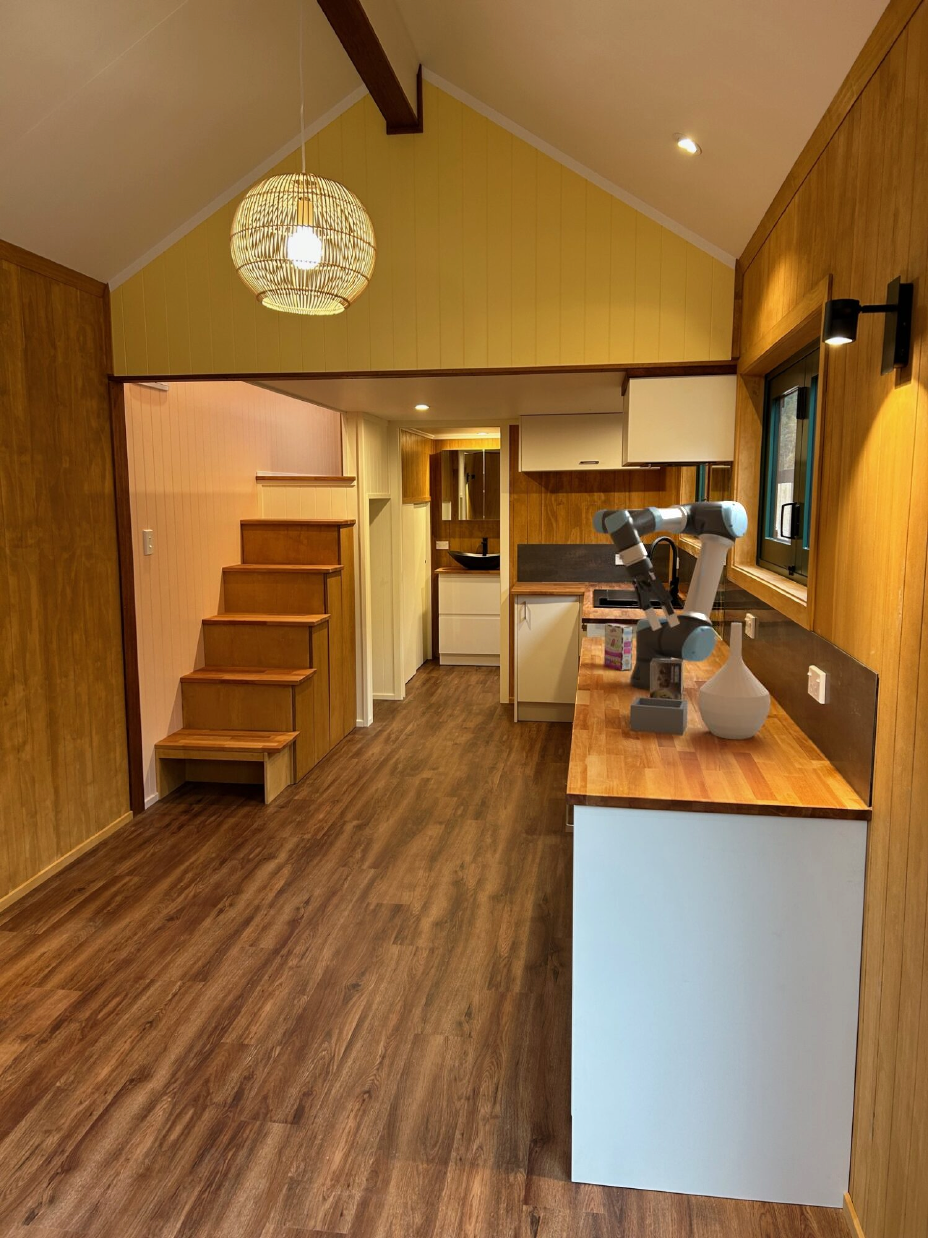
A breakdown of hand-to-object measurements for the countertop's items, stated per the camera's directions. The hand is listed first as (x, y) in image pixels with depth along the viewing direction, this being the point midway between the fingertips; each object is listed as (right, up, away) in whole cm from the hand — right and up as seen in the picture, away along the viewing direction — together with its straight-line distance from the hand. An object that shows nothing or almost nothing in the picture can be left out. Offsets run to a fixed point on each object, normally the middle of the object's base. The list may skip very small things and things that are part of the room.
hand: (666, 627), depth 251 cm
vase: (+12, -28, -24) cm, 39 cm away
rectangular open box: (-6, -27, -17) cm, 33 cm away
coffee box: (-1, -26, -2) cm, 26 cm away
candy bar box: (-2, -16, +69) cm, 71 cm away
